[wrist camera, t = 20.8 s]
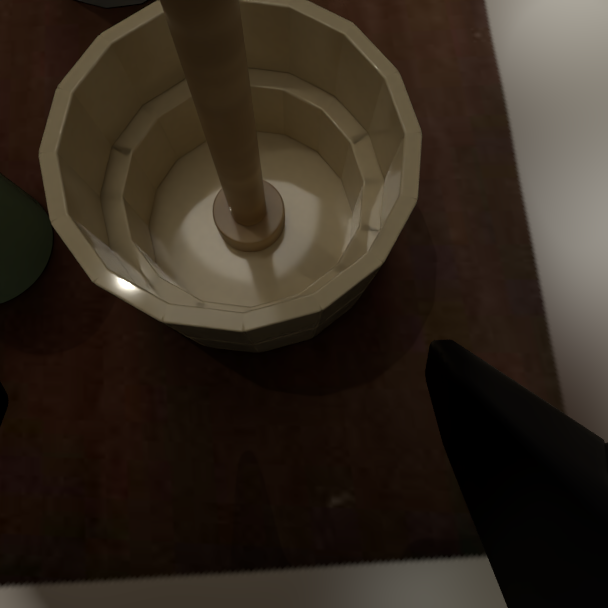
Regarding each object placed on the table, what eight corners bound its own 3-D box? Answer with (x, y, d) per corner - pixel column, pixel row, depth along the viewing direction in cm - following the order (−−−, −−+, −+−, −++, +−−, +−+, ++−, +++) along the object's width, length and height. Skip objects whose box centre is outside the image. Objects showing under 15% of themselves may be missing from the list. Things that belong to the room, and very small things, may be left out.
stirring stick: (298, 225, 20) (334, -576, 4) (243, 266, 20) (-15, -443, 3) (257, 176, 21) (117, -737, 4) (203, 214, 20) (-215, -643, 4)
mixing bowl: (429, 247, 21) (498, 174, 14) (224, 408, 19) (187, 415, 12) (276, 73, 23) (269, -68, 16) (75, 204, 21) (-32, 109, 14)
